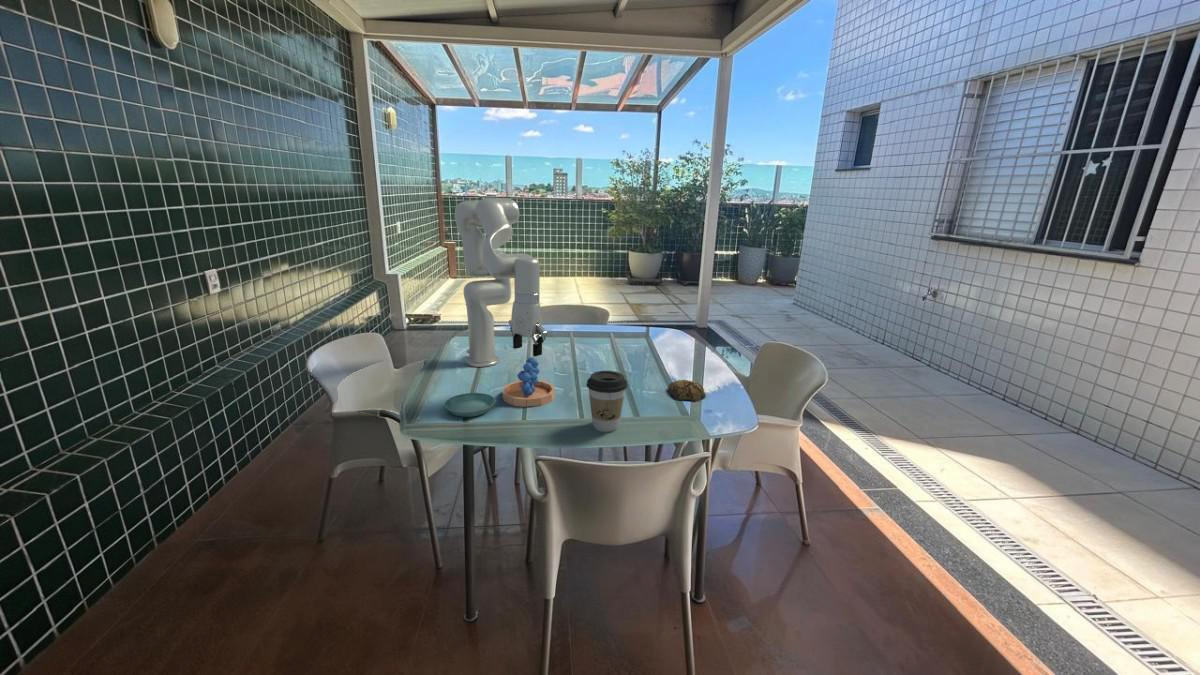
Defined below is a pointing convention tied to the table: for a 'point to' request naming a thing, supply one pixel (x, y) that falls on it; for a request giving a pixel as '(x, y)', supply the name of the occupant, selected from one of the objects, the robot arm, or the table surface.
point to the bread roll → (686, 390)
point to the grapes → (529, 376)
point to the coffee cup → (606, 399)
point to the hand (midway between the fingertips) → (527, 351)
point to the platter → (538, 397)
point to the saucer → (470, 404)
